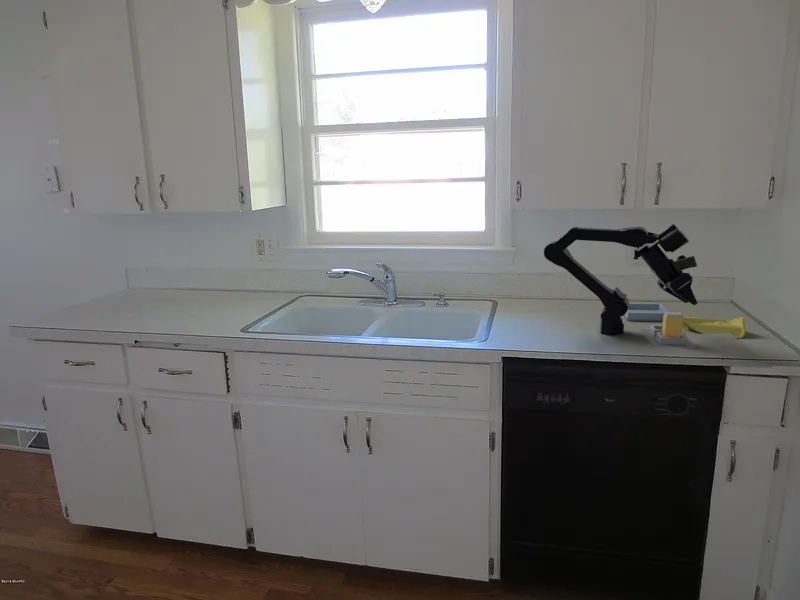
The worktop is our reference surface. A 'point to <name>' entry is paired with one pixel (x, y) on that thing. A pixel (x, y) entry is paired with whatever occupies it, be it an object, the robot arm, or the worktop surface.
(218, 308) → the worktop surface
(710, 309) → the worktop surface
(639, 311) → the parts tray
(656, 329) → the board
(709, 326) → the plastic component
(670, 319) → the block
